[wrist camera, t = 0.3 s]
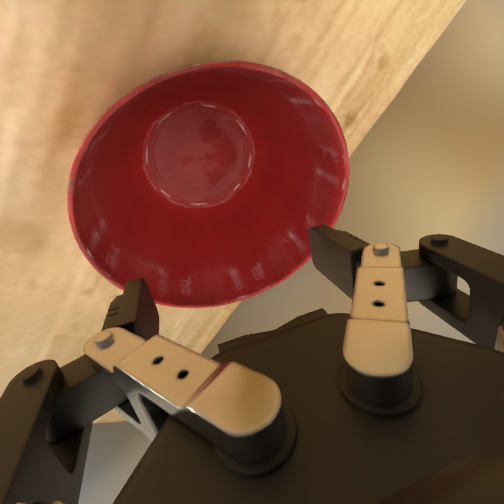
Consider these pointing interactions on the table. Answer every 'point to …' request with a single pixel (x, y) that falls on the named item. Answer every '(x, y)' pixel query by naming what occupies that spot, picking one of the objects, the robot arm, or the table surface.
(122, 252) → the mixing bowl
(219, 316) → the table surface
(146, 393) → the robot arm
